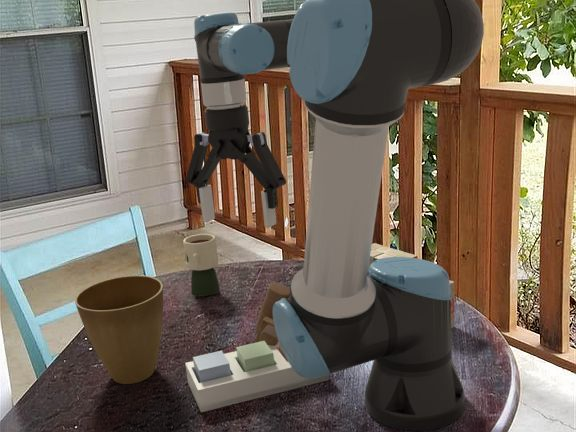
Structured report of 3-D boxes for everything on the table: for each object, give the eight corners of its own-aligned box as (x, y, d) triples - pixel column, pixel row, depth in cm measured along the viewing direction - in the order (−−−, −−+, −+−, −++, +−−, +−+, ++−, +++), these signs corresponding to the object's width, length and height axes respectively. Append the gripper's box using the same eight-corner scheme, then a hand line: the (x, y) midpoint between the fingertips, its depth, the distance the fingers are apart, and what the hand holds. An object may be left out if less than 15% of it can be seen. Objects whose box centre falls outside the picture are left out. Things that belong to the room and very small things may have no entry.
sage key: (275, 371, 123) (273, 352, 122) (246, 378, 121) (244, 359, 120) (266, 359, 127) (264, 340, 126) (238, 365, 126) (236, 347, 125)
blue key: (231, 382, 120) (229, 363, 119) (201, 389, 119) (199, 370, 118) (224, 369, 125) (221, 350, 124) (195, 376, 124) (192, 357, 123)
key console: (329, 379, 124) (327, 358, 122) (201, 412, 117) (198, 390, 116) (308, 354, 133) (306, 334, 132) (188, 383, 126) (185, 362, 125)
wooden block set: (274, 377, 131) (290, 332, 126) (231, 356, 133) (246, 310, 128) (307, 329, 147) (323, 287, 142) (268, 311, 148) (282, 269, 144)
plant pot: (109, 354, 140) (96, 275, 135) (184, 354, 137) (173, 274, 132) (75, 396, 125) (59, 309, 121) (158, 397, 123) (145, 309, 118)
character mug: (195, 284, 170) (189, 231, 166) (226, 283, 169) (220, 230, 165) (184, 304, 160) (177, 247, 156) (216, 303, 159) (209, 246, 155)
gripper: (298, 101, 124) (309, 221, 130) (183, 103, 137) (197, 213, 143) (274, 108, 118) (287, 234, 124) (156, 110, 131) (172, 224, 137)
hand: (239, 223), depth 133 cm, fingers open, 13 cm apart
